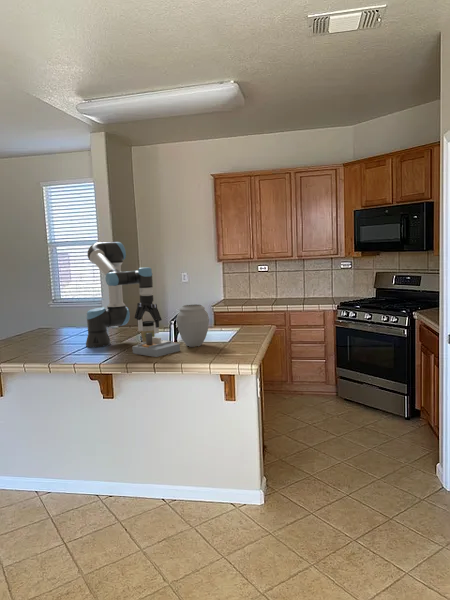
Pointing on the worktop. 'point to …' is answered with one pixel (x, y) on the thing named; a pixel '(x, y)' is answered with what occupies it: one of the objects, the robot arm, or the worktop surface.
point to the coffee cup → (147, 329)
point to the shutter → (157, 340)
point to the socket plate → (156, 349)
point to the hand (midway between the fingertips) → (148, 332)
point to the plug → (148, 340)
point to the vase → (193, 324)
